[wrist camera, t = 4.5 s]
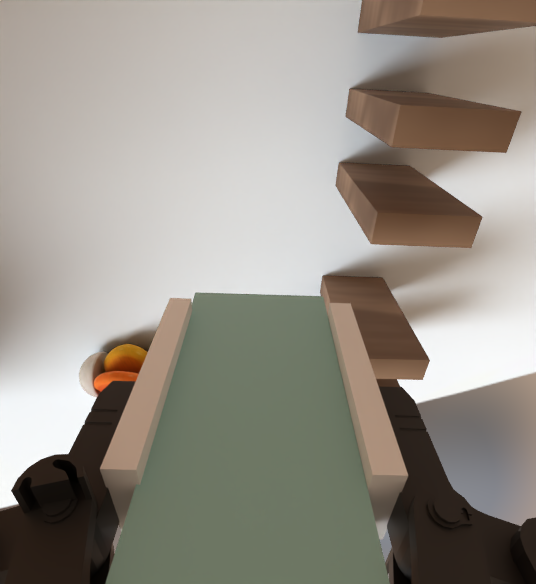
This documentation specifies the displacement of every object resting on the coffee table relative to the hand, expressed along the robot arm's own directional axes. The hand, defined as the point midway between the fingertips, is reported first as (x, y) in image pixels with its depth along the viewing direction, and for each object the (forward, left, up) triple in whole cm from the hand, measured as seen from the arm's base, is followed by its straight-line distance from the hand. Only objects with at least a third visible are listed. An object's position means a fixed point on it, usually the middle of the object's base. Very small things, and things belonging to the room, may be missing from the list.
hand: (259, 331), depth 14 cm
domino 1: (+8, +11, -15) cm, 21 cm away
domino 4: (+8, -7, -15) cm, 19 cm away
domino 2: (+8, +7, -15) cm, 19 cm away
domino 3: (+8, +2, -15) cm, 17 cm away
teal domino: (0, 0, -1) cm, 1 cm away
